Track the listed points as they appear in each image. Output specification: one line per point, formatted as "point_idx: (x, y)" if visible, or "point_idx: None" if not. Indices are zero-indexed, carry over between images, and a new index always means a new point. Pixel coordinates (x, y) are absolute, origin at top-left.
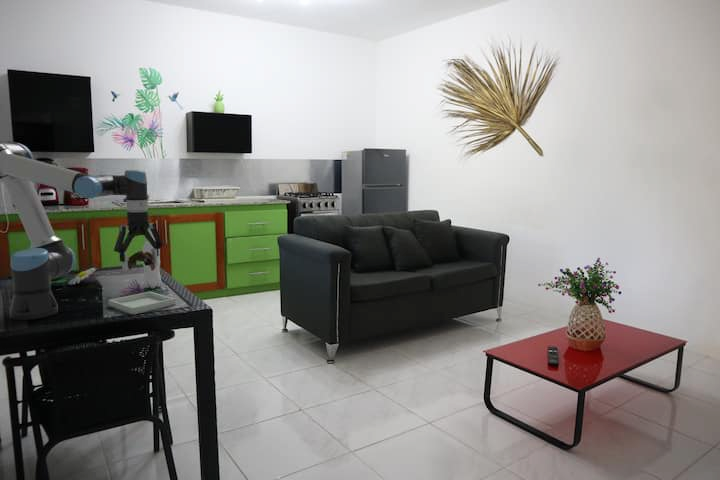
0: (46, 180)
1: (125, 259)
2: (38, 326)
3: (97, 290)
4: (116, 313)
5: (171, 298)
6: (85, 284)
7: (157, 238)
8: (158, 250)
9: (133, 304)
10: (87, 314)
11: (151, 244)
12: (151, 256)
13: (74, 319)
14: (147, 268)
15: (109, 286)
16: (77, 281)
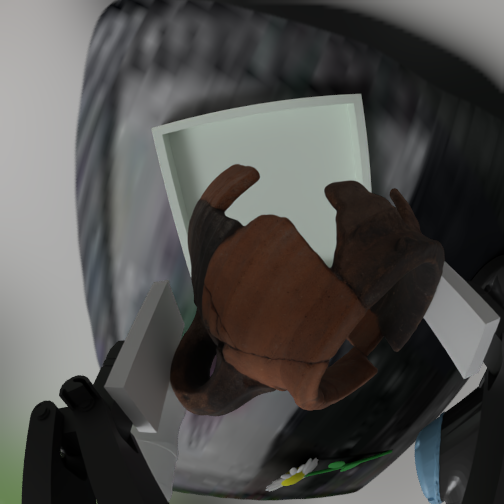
0: None
1: (465, 285)
2: None
3: (299, 420)
4: (386, 158)
5: (162, 140)
6: (294, 456)
7: (51, 493)
8: (95, 382)
9: (301, 216)
10: (443, 214)
11: (144, 465)
12: (173, 368)
13: (479, 188)
14: (168, 433)
15: (261, 434)
16: (310, 462)
